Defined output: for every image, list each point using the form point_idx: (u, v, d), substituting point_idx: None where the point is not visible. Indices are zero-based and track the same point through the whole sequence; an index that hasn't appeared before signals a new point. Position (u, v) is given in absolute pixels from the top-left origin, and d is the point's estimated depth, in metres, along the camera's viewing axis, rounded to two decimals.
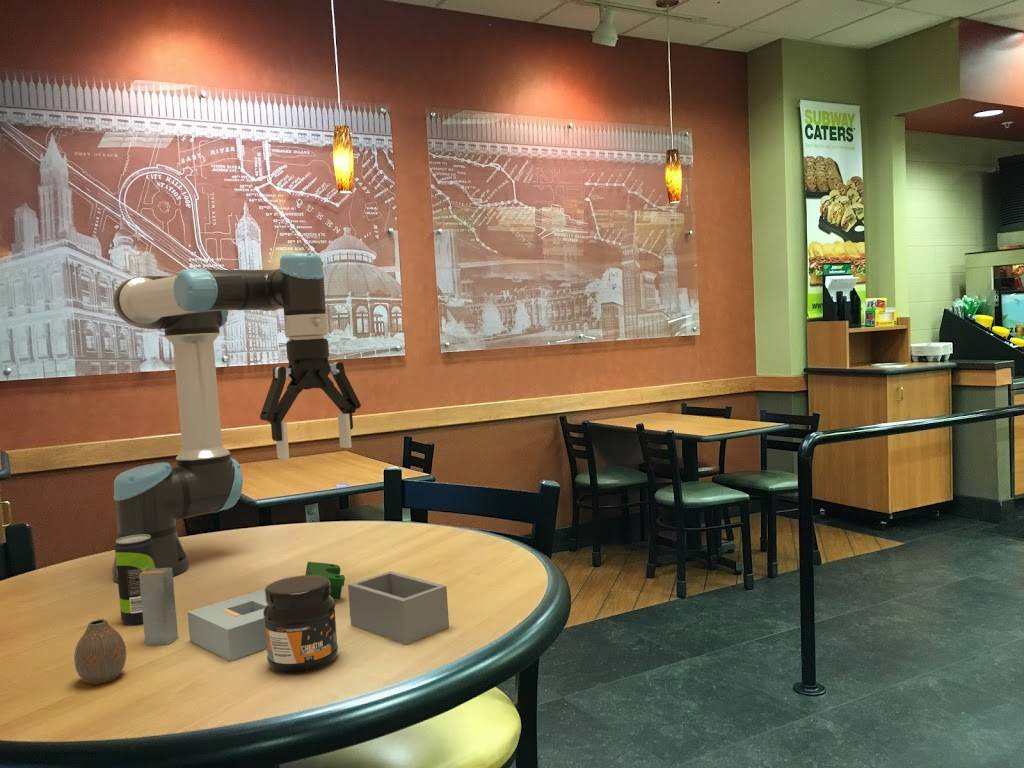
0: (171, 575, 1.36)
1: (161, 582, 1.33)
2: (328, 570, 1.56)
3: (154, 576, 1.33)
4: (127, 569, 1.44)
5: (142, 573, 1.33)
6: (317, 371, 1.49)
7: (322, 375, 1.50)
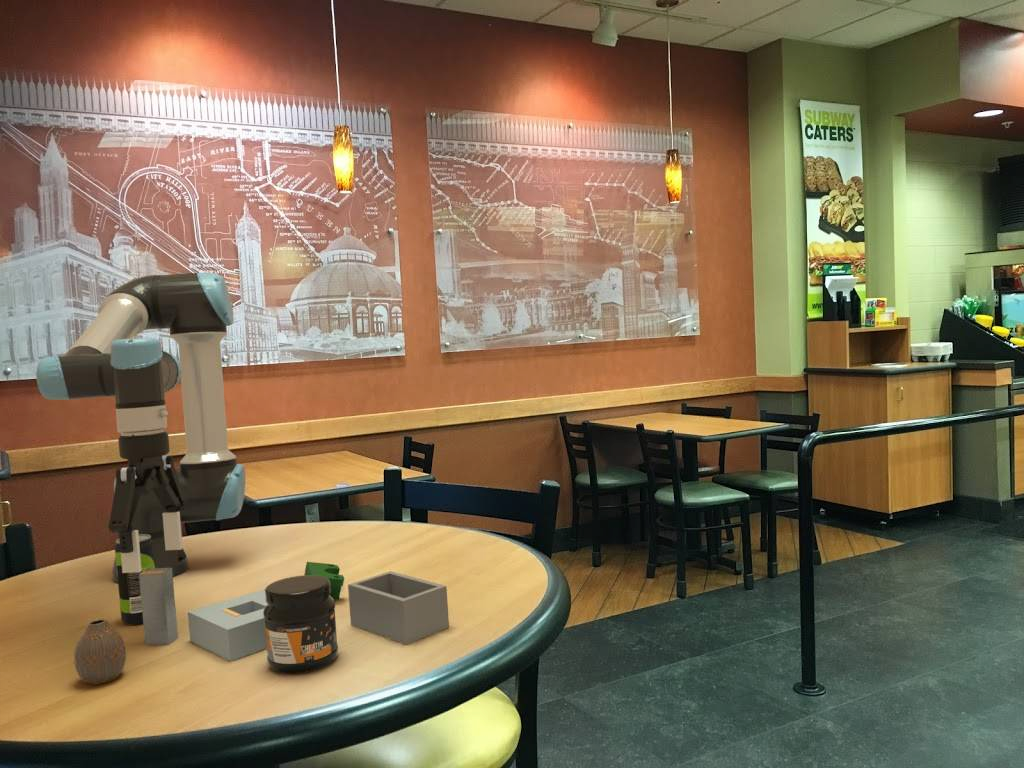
0: (171, 575, 1.36)
1: (161, 582, 1.33)
2: (327, 570, 1.56)
3: (154, 576, 1.33)
4: None
5: (142, 573, 1.33)
6: (157, 468, 1.34)
7: (162, 472, 1.35)
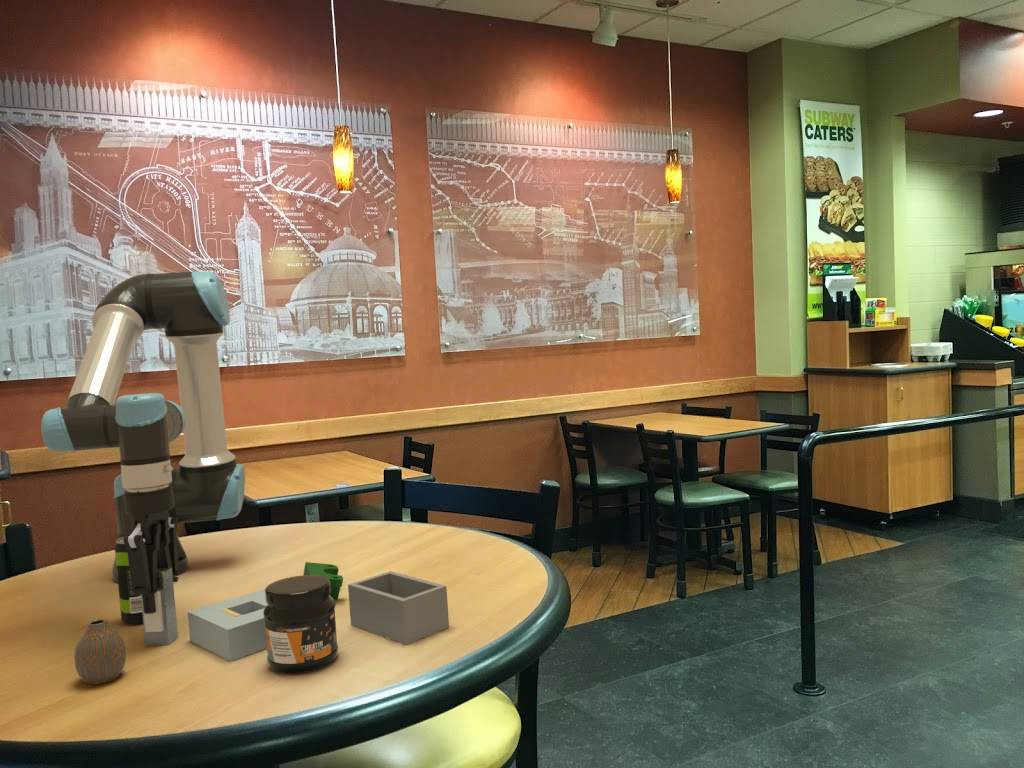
0: (171, 575, 1.36)
1: (161, 582, 1.33)
2: (326, 570, 1.56)
3: None
4: (127, 569, 1.44)
5: None
6: (162, 521, 1.35)
7: (166, 526, 1.35)
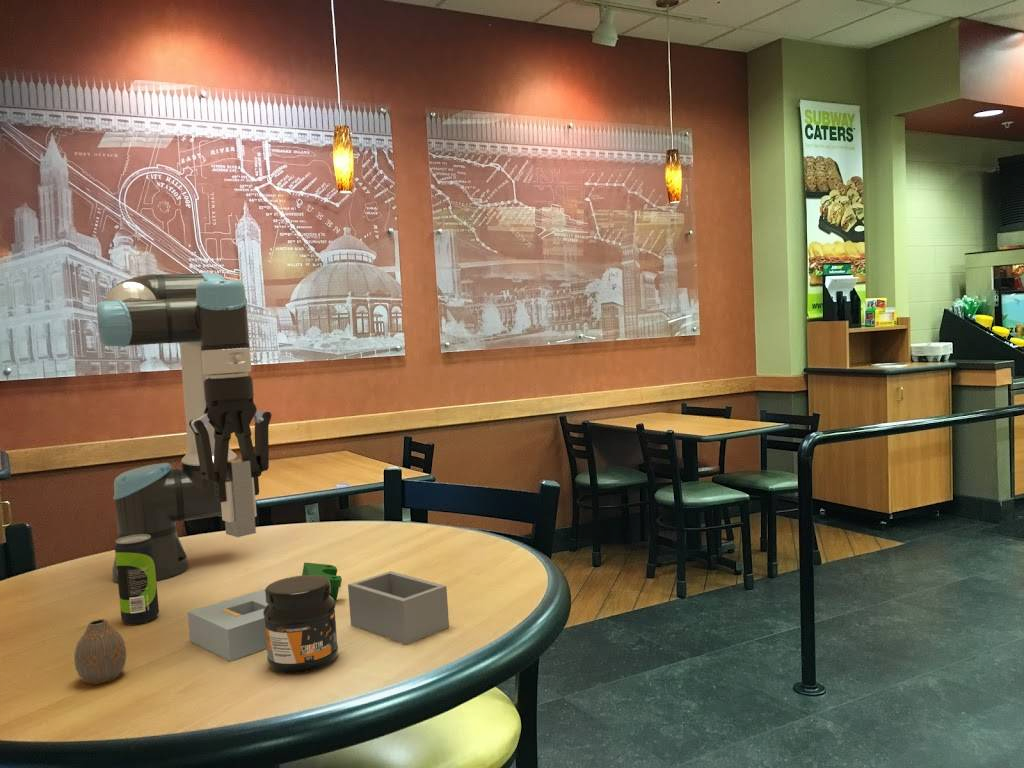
0: (248, 468, 1.33)
1: (231, 472, 1.31)
2: (325, 571, 1.55)
3: (227, 466, 1.32)
4: (127, 569, 1.44)
5: None
6: (240, 411, 1.32)
7: (243, 418, 1.32)
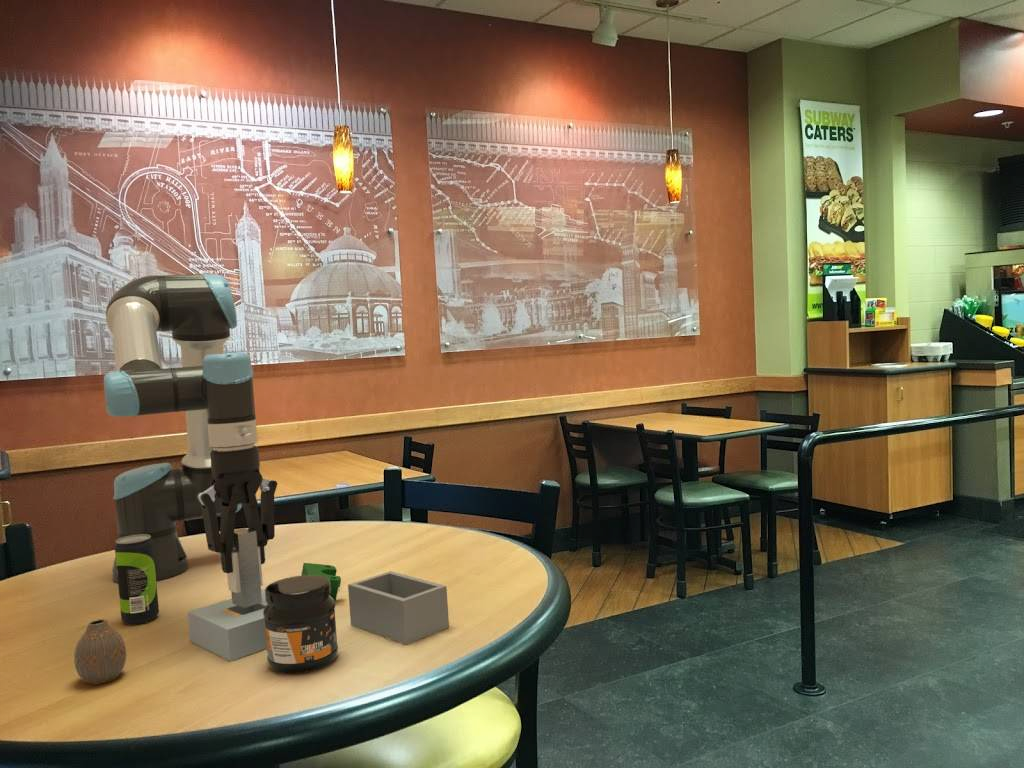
0: (254, 538, 1.33)
1: (237, 544, 1.32)
2: (324, 571, 1.55)
3: None
4: (127, 569, 1.44)
5: None
6: (246, 482, 1.33)
7: (249, 489, 1.33)
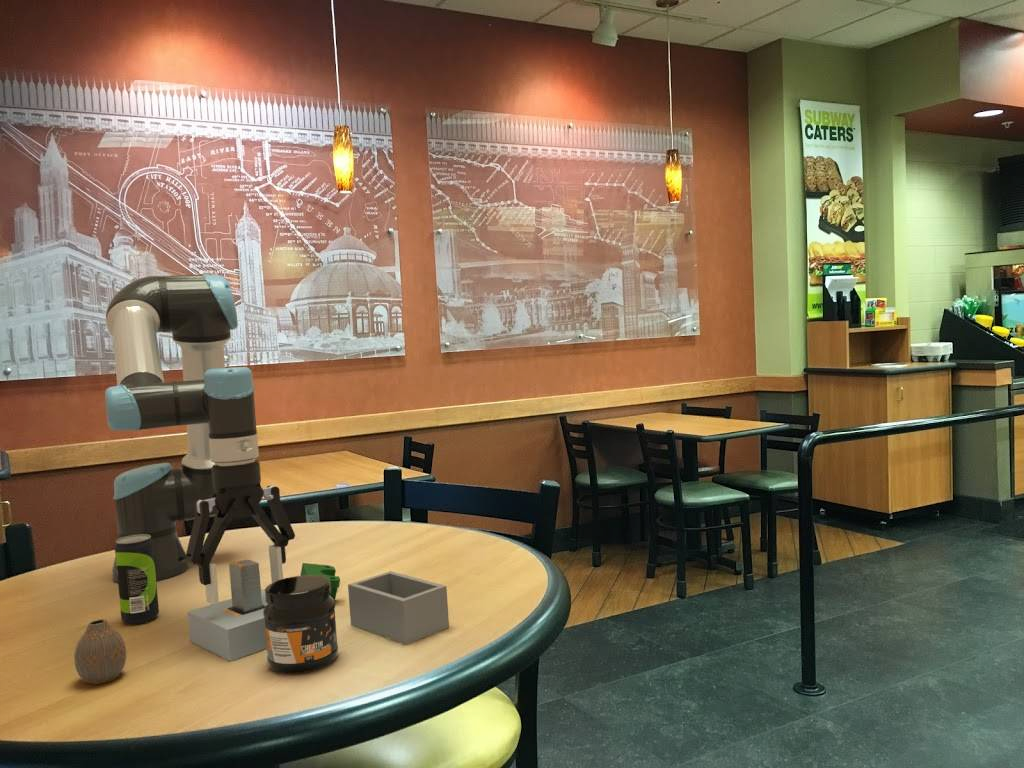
0: (257, 570, 1.34)
1: (240, 576, 1.32)
2: (323, 571, 1.55)
3: (236, 569, 1.33)
4: (127, 569, 1.44)
5: (231, 563, 1.34)
6: (247, 498, 1.33)
7: (252, 503, 1.33)
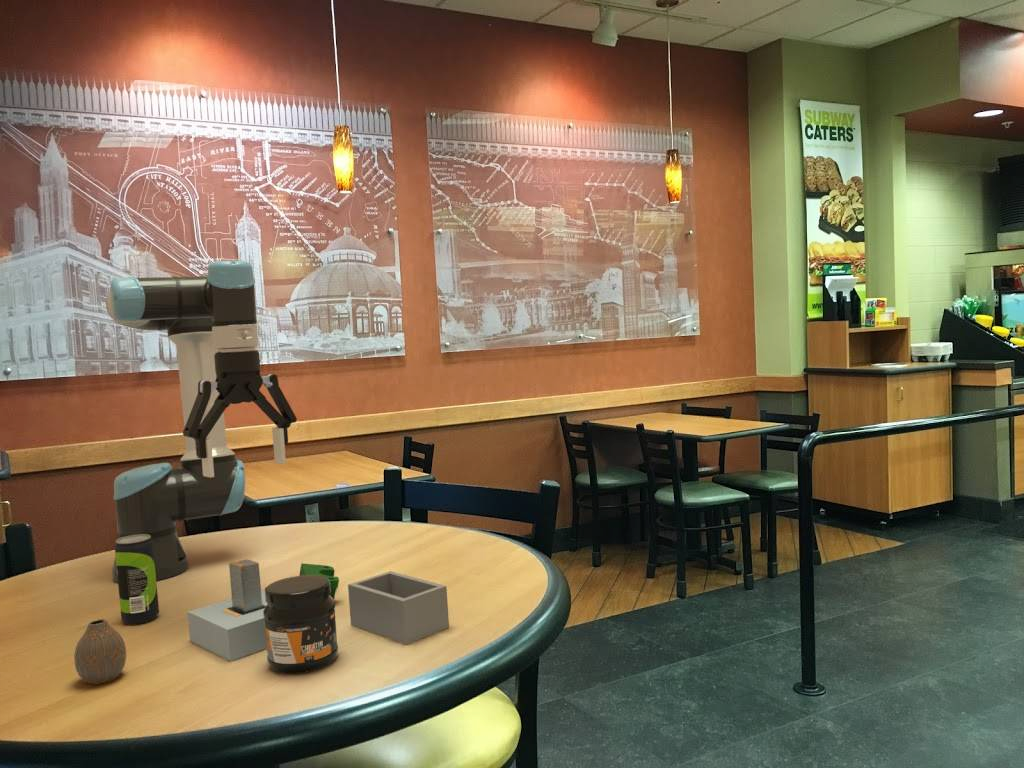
0: (257, 570, 1.34)
1: (240, 576, 1.32)
2: (322, 572, 1.55)
3: (236, 569, 1.33)
4: (127, 569, 1.44)
5: (231, 563, 1.34)
6: (247, 385, 1.42)
7: (252, 389, 1.43)
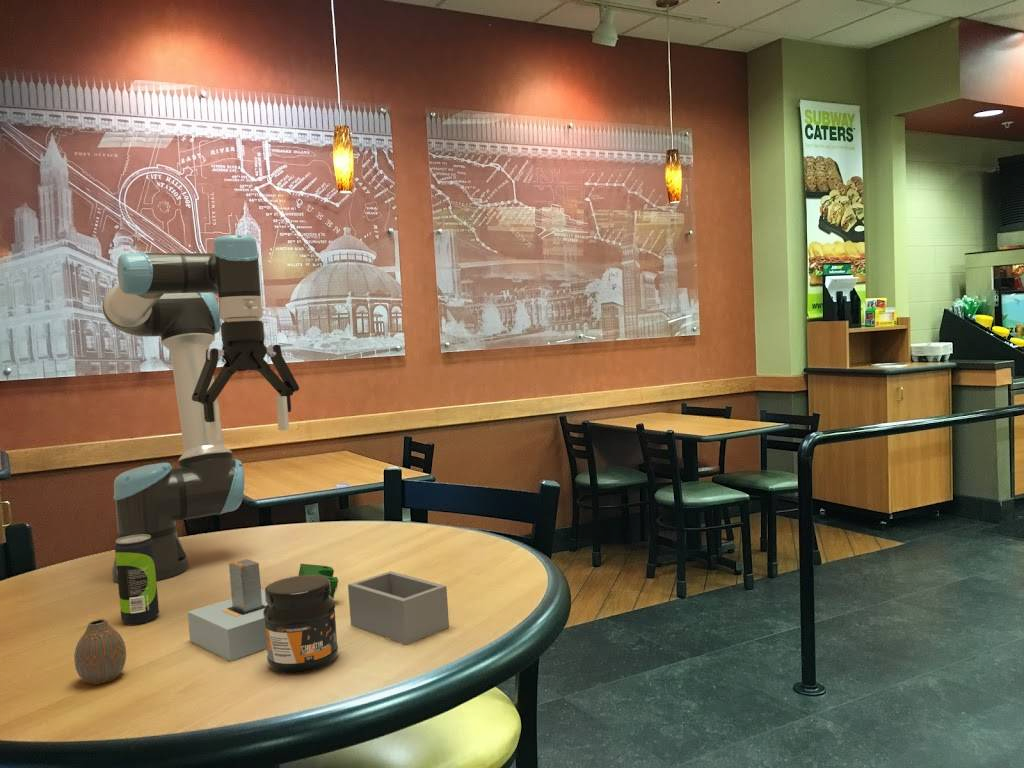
0: (257, 570, 1.34)
1: (240, 576, 1.32)
2: (321, 572, 1.55)
3: (236, 569, 1.33)
4: (127, 569, 1.44)
5: (231, 563, 1.34)
6: (252, 353, 1.50)
7: (257, 357, 1.50)
